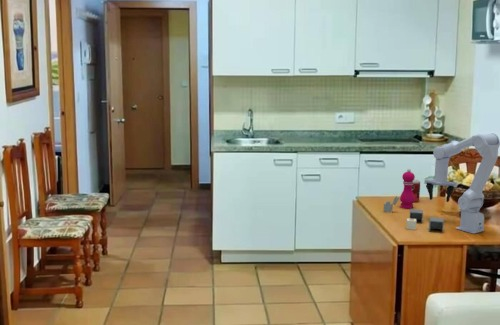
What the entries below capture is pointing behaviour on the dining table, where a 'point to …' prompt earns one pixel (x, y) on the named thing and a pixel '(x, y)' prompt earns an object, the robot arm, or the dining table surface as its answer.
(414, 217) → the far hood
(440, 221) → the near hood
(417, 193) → the canned food
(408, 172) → the pepper mill
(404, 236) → the dining table surface
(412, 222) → the cube
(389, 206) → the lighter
